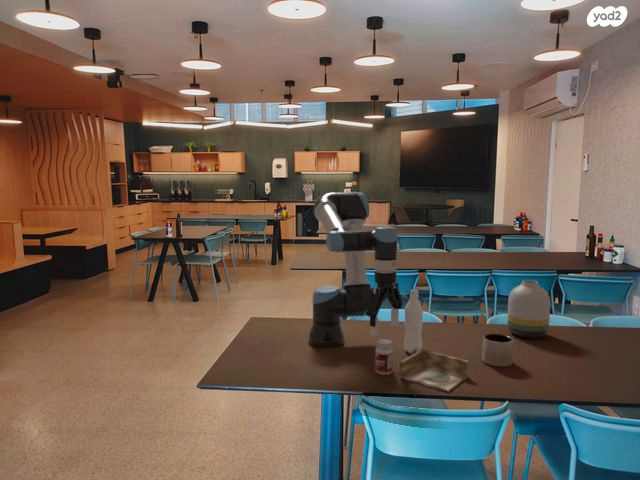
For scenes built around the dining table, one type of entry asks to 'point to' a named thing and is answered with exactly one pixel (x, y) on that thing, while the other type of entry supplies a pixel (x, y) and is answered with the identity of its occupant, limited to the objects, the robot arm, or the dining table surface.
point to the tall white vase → (413, 323)
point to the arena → (434, 370)
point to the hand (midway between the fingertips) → (384, 330)
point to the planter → (497, 350)
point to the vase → (528, 310)
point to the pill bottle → (384, 357)
